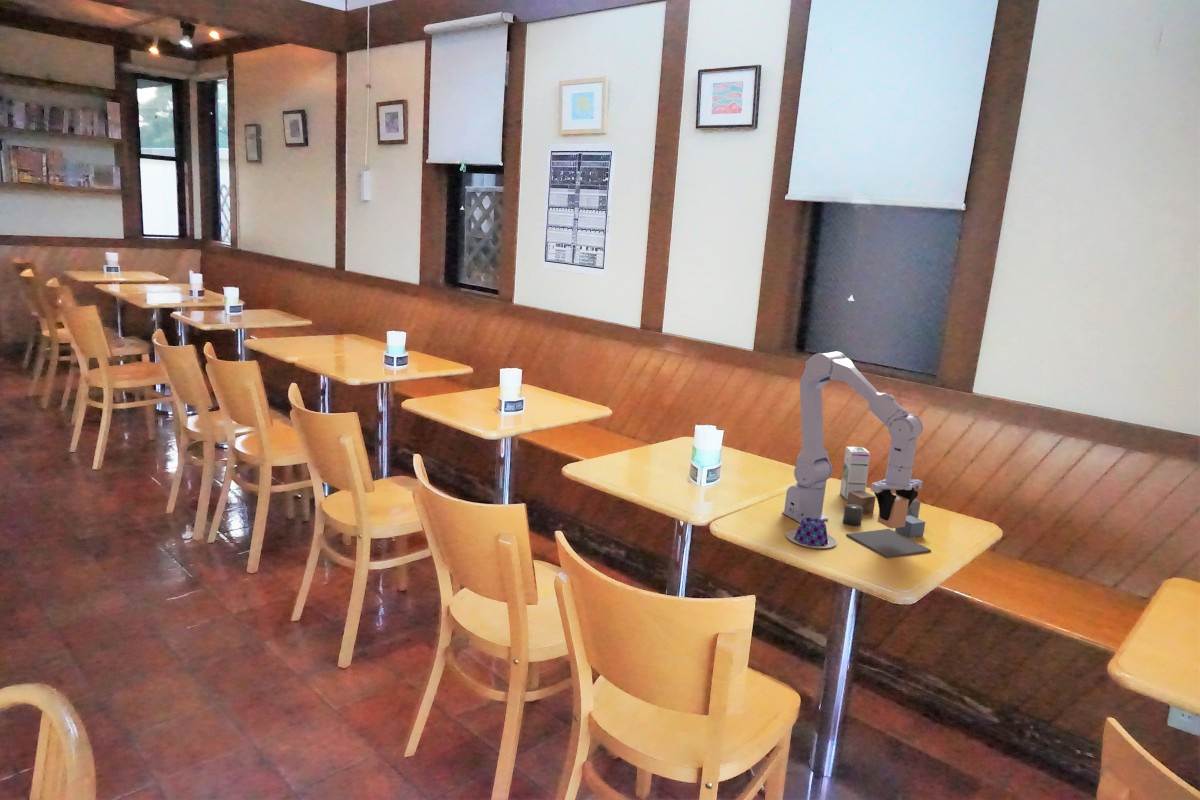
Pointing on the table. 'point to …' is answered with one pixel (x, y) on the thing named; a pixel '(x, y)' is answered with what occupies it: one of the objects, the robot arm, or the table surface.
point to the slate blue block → (912, 527)
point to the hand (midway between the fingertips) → (891, 518)
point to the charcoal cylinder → (852, 515)
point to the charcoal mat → (888, 543)
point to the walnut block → (862, 500)
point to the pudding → (811, 534)
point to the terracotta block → (896, 513)
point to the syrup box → (854, 470)
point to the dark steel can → (914, 508)
